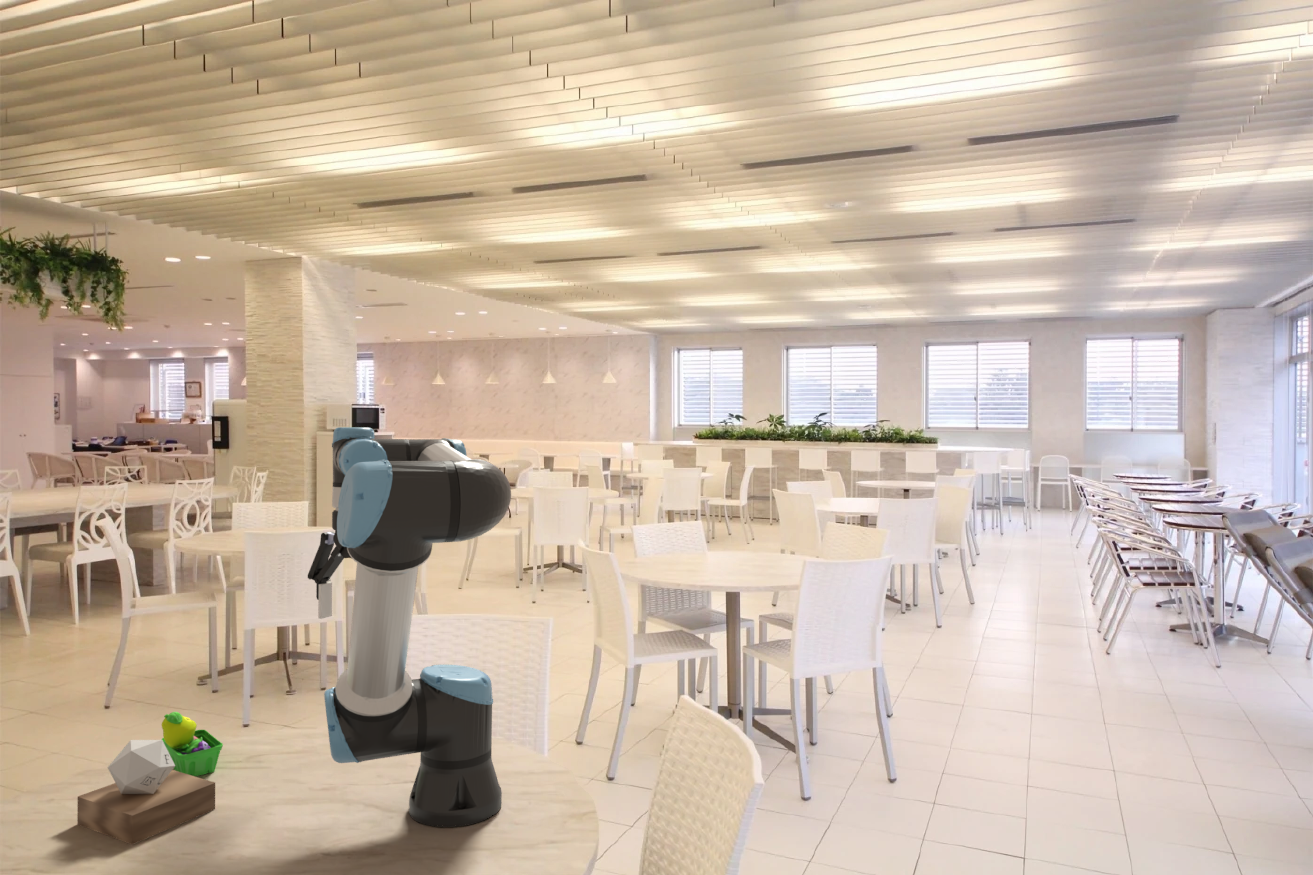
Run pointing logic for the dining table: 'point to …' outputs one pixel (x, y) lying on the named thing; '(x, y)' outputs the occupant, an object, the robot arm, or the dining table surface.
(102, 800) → the walnut block
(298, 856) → the dining table surface
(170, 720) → the fruit basket
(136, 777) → the die
